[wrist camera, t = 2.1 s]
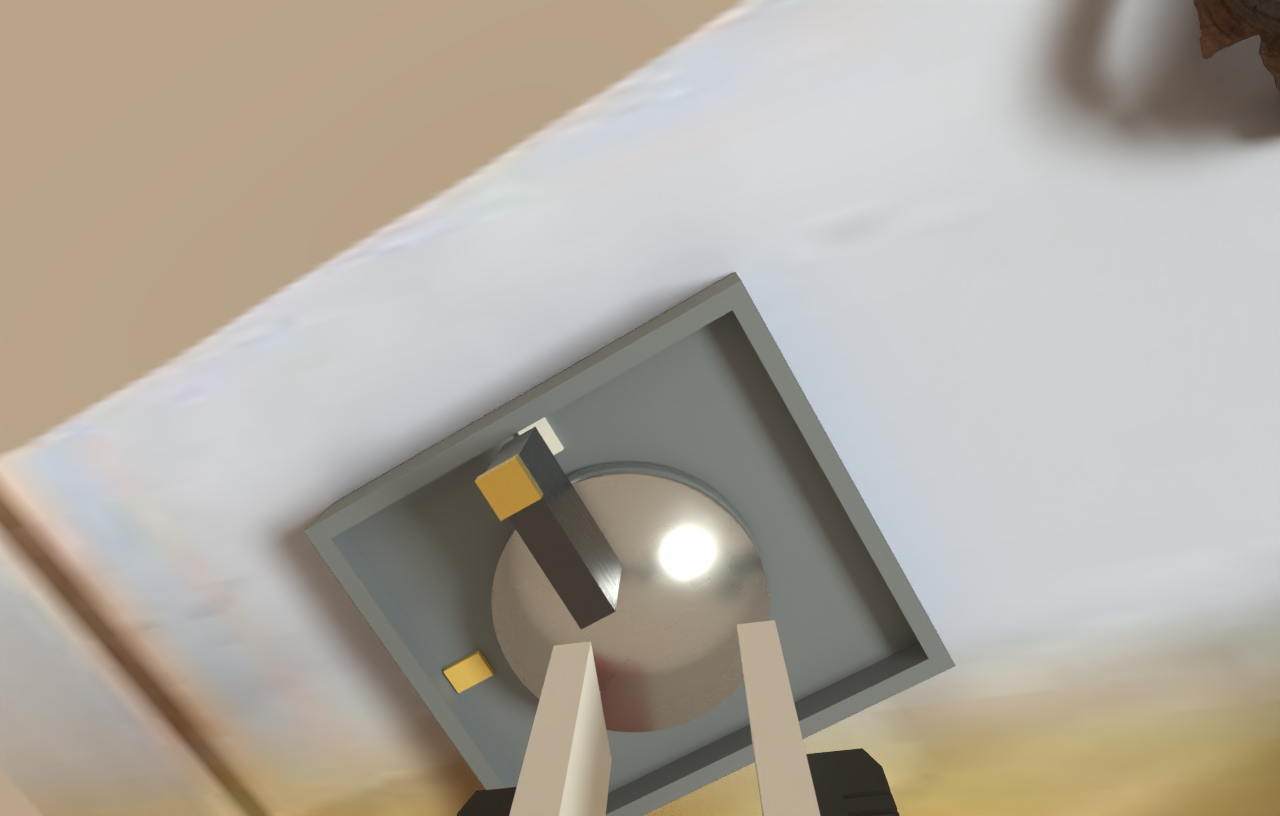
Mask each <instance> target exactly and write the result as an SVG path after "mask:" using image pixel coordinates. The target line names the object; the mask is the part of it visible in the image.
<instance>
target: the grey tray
mask: <svg viewBox="0 0 1280 816" xmlns="http://www.w3.org/2000/svg"><path fill="white" fill-rule="evenodd" d="M533 427H536V428H537V430H538V431H539V433H540V435H541V436H542V438H543V439H544V441H545V443H546V444H547V446H548V447H549V449H550V451H551V452H552V454H553V455H554V457H555V458H556V460H557V462H558V463H559V465H560V466H561V468H562V470H563V471H564V473H565V474H566V476H568V475H570V474H572V473H575V472H577V471H579V470H582V469H585V468H588V467H591V466H594V465H598V464H604V463H609V462H617V461H643V462H652V463H657V464H662V465H667V466H670V467H673V468H676V469H679V470H682V471H685V472H687V473H689V474H691V475H693V476H695V477H697V478H700V479H701V480H703V481H704V482H706V483H707V484H709V485H710V486H712V487H714V488H715V489H716V490H717V491H719V492H720V493H721V494H722V495H723V496H724V497H726V498H727V499H728V500H729V501H730V502H731V503H732V505H733V506H734V507H735V508H736V509H737V510H738V511H739V512H740V514H741V515H742V517H743V518H744V520H745V521H746V523H747V524H748V525H749V527H750V529H751V531H752V533H753V535H754V537H755V539H756V542H757V544H758V547H759V550H760V553H761V556H762V561H763V565H764V569H765V573H766V578H767V583H768V588H769V594H770V618H769V621H771V620H775V623H776V627H777V631H778V636H779V640H780V644H781V648H782V653H783V657H784V661H785V666H786V670H787V674H788V678H789V683H790V687H791V691H792V696H793V700H794V704H795V709H796V713H797V717H798V721H799V726H800V730H801V734H802V739H804V738H806V737H808V736H810V735H812V734H814V733H816V732H818V731H820V730H822V729H824V728H827V727H829V726H831V725H833V724H835V723H837V722H839V721H841V720H843V719H845V718H847V717H850V716H852V715H854V714H856V713H858V712H860V711H862V710H864V709H866V708H868V707H870V706H873V705H875V704H877V703H879V702H881V701H883V700H885V699H887V698H889V697H891V696H893V695H895V694H898V693H900V692H902V691H904V690H906V689H908V688H910V687H912V686H914V685H916V684H918V683H921V682H923V681H925V680H927V679H929V678H931V677H933V676H935V675H937V674H939V673H941V672H943V671H946V670H948V669H950V668H952V667H954V666H955V664H954V662H953V660H952V659H951V657H950V655H949V653H948V651H947V650H946V648H945V646H944V644H943V642H942V641H941V639H940V637H939V635H938V633H937V632H936V630H935V628H934V626H933V624H932V623H931V621H930V619H929V617H928V615H927V614H926V612H925V610H924V608H923V606H922V605H921V603H920V601H919V599H918V597H917V596H916V594H915V592H914V590H913V588H912V587H911V585H910V583H909V581H908V579H907V578H906V576H905V574H904V572H903V570H902V569H901V567H900V565H899V563H898V562H897V560H896V558H895V556H894V554H893V553H892V551H891V549H890V547H889V545H888V544H887V542H886V540H885V538H884V536H883V535H882V533H881V531H880V529H879V527H878V526H877V524H876V522H875V520H874V518H873V517H872V515H871V513H870V511H869V509H868V508H867V506H866V504H865V502H864V500H863V499H862V497H861V495H860V493H859V491H858V490H857V488H856V486H855V484H854V482H853V481H852V479H851V477H850V475H849V473H848V472H847V470H846V468H845V466H844V464H843V463H842V461H841V459H840V457H839V455H838V454H837V452H836V450H835V448H834V447H833V445H832V443H831V441H830V439H829V438H828V436H827V434H826V432H825V430H824V429H823V427H822V425H821V423H820V421H819V420H818V418H817V416H816V414H815V412H814V411H813V409H812V407H811V405H810V403H809V402H808V400H807V398H806V396H805V394H804V393H803V391H802V389H801V387H800V385H799V384H798V382H797V380H796V378H795V376H794V375H793V373H792V371H791V369H790V367H789V366H788V364H787V362H786V360H785V358H784V357H783V355H782V353H781V351H780V349H779V348H778V346H777V344H776V342H775V340H774V339H773V337H772V335H771V333H770V332H769V330H768V328H767V326H766V324H765V323H764V321H763V319H762V317H761V315H760V314H759V312H758V310H757V308H756V306H755V305H754V303H753V301H752V299H751V297H750V296H749V294H748V292H747V290H746V288H745V287H744V285H743V283H742V281H741V280H740V278H739V277H738V275H737V274H736V273H735V272H734V273H732V274H730V275H729V276H727V277H725V278H723V279H722V280H720V281H718V282H716V283H715V284H713V285H711V286H709V287H708V288H706V289H704V290H703V291H701V292H699V293H697V294H696V295H694V296H692V297H690V298H689V299H687V300H685V301H683V302H682V303H680V304H678V305H677V306H675V307H673V308H671V309H670V310H668V311H666V312H664V313H663V314H661V315H659V316H657V317H656V318H654V319H652V320H650V321H649V322H647V323H645V324H644V325H642V326H640V327H638V328H637V329H635V330H633V331H631V332H630V333H628V334H626V335H624V336H623V337H621V338H619V339H618V340H616V341H614V342H612V343H611V344H609V345H607V346H605V347H604V348H602V349H600V350H598V351H597V352H595V353H593V354H591V355H590V356H588V357H586V358H585V359H583V360H581V361H579V362H578V363H576V364H574V365H572V366H571V367H569V368H567V369H565V370H564V371H562V372H560V373H559V374H557V375H555V376H553V377H552V378H550V379H548V380H546V381H545V382H543V383H541V384H539V385H538V386H536V387H534V388H532V389H531V390H529V391H527V392H526V393H524V394H522V395H520V396H519V397H517V398H515V399H513V400H512V401H510V402H508V403H506V404H505V405H503V406H501V407H499V408H498V409H496V410H494V411H493V412H491V413H489V414H487V415H486V416H484V417H482V418H480V419H479V420H477V421H475V422H473V423H472V424H470V425H468V426H467V427H465V428H463V429H461V430H460V431H458V432H456V433H454V434H453V435H451V436H449V437H447V438H446V439H444V440H442V441H440V442H439V443H437V444H435V445H434V446H432V447H430V448H428V449H427V450H425V451H423V452H421V453H420V454H418V455H416V456H414V457H413V458H411V459H409V460H408V461H406V462H404V463H402V464H401V465H399V466H397V467H395V468H394V469H392V470H390V471H388V472H387V473H385V474H383V475H381V476H380V477H378V478H376V479H375V480H373V481H371V482H369V483H368V484H366V485H364V486H362V487H361V488H359V489H357V490H355V491H354V492H352V493H350V494H348V495H347V496H345V497H343V498H342V499H340V500H338V501H336V502H335V503H334V504H332V505H331V506H330V507H329V508H328V509H327V510H326V511H325V512H324V513H323V514H322V515H321V516H320V517H318V518H317V519H316V520H315V521H314V522H313V523H312V524H311V525H310V526H309V527H308V528H307V529H306V530H305V531H303V532H304V533H305V535H306V536H307V537H308V539H309V540H310V542H311V543H312V545H313V546H314V547H315V549H316V550H317V552H318V553H319V554H320V556H321V557H322V559H323V560H324V561H325V563H326V564H327V566H328V567H329V569H330V570H331V571H332V573H333V574H334V576H335V577H336V578H337V580H338V581H339V583H340V584H341V586H342V587H343V588H344V590H345V591H346V593H347V594H348V595H349V597H350V598H351V600H352V601H353V603H354V604H355V605H356V607H357V608H358V610H359V611H360V612H361V614H362V615H363V617H364V618H365V619H366V621H367V622H368V624H369V625H370V627H371V628H372V629H373V631H374V632H375V634H376V635H377V636H378V638H379V639H380V641H381V642H382V644H383V645H384V646H385V648H386V649H387V651H388V652H389V653H390V655H391V656H392V658H393V659H394V661H395V662H396V663H397V665H398V666H399V668H400V669H401V670H402V672H403V673H404V675H405V676H406V677H407V679H408V680H409V682H410V683H411V685H412V686H413V687H414V689H415V690H416V692H417V693H418V694H419V696H420V697H421V699H422V700H423V702H424V703H425V704H426V706H427V707H428V709H429V710H430V711H431V713H432V714H433V716H434V717H435V719H436V720H437V721H438V723H439V724H440V726H441V727H442V728H443V730H444V731H445V733H446V734H447V735H448V737H449V738H450V740H451V741H452V743H453V744H454V745H455V747H456V748H457V750H458V751H459V752H460V754H461V755H462V757H463V758H464V760H465V761H466V762H467V764H468V765H469V767H470V768H471V769H472V771H473V772H474V774H475V775H476V777H477V778H478V779H479V781H480V782H481V784H482V785H483V786H484V788H485V789H486V790H491V789H500V788H510V787H517V784H518V780H519V776H520V773H521V769H522V765H523V761H524V757H525V753H526V750H527V746H528V742H529V738H530V734H531V731H532V727H533V723H534V719H535V715H536V711H537V708H538V704H539V700H540V699H539V698H537V697H536V696H535V695H534V694H533V693H532V692H531V691H530V690H529V689H528V688H527V687H526V686H525V685H524V684H523V683H522V682H521V680H520V679H519V678H518V677H517V675H516V674H515V673H514V671H513V670H512V668H511V667H510V665H509V663H508V661H507V660H506V658H505V656H504V654H503V652H502V649H501V647H500V645H499V642H498V639H497V636H496V632H495V628H494V624H493V616H492V608H491V605H492V587H493V581H494V575H495V571H496V568H497V565H498V562H499V559H500V556H501V554H502V552H503V550H504V548H505V546H506V544H507V542H508V539H509V537H510V535H511V533H512V531H513V529H514V526H513V524H512V523H511V521H510V520H509V518H508V517H507V518H505V519H504V520H502V521H500V519H499V518H498V516H497V515H496V513H495V512H494V510H493V509H492V507H491V506H490V504H489V503H488V501H487V499H486V498H485V496H484V495H483V493H482V492H481V490H480V489H479V487H478V486H477V484H476V483H475V480H476V479H477V477H478V476H480V475H482V474H483V473H485V472H486V471H487V469H488V468H489V466H490V465H491V463H492V462H493V460H494V459H495V457H496V456H497V454H498V453H499V451H500V450H501V448H502V446H503V445H504V444H505V443H507V442H509V441H510V440H512V439H514V438H516V437H518V436H519V435H521V434H523V433H525V432H526V431H528V430H530V429H532V428H533ZM606 731H607V736H608V742H609V748H610V753H611V759H612V761H611V770H610V779H609V788H608V798H607V807H606V816H643V815H645V814H647V813H649V812H651V811H653V810H655V809H658V808H660V807H662V806H664V805H666V804H668V803H670V802H672V801H674V800H676V799H678V798H680V797H683V796H685V795H687V794H689V793H691V792H693V791H695V790H697V789H699V788H701V787H703V786H706V785H708V784H710V783H712V782H714V781H716V780H718V779H720V778H722V777H724V776H726V775H728V774H731V773H733V772H735V771H737V770H739V769H741V768H743V767H745V766H747V765H749V764H751V763H754V762H755V758H754V751H753V744H752V736H751V729H750V721H749V714H748V706H747V699H746V691H745V684H744V682H743V683H742V684H741V685H740V687H739V688H738V689H737V690H736V691H735V692H734V693H733V694H732V695H731V696H730V697H729V698H728V699H726V700H725V701H724V702H722V703H721V704H720V705H718V706H717V707H716V708H714V709H713V710H711V711H709V712H708V713H706V714H704V715H702V716H701V717H699V718H696V719H694V720H692V721H689V722H687V723H685V724H682V725H678V726H675V727H671V728H668V729H663V730H657V731H650V732H618V731H610V730H606Z"/></svg>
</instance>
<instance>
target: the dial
mask: <svg viewBox="0 0 1280 816" xmlns="http://www.w3.org/2000/svg"><path fill="white" fill-rule="evenodd" d="M475 483H476V484H477V486H478V487H479V489H480V490H481V492H482V493H483V495H484V496H485V498H486V499H487V501H488V503H489V504H490V506H491V507H492V509H493V510H494V512H495V513H496V515H497V516H498V518H499V519H500V521H502V520H504V519H505V518H507V517H508V518H509V520H510V521H511V523H512V524H513V526H514V529H513V531H512V533H511V535H510V537H509V539H508V542H507V544H506V546H505V548H504V550H503V552H502V554H501V556H500V559H499V562H498V565H497V568H496V571H495V575H494V581H493V587H492V605H491V608H492V616H493V624H494V628H495V632H496V636H497V639H498V642H499V645H500V647H501V649H502V652H503V654H504V656H505V658H506V660H507V661H508V663H509V665H510V667H511V668H512V670H513V671H514V673H515V674H516V675H517V677H518V678H519V679H520V680H521V682H522V683H523V684H524V685H525V686H526V687H527V688H528V689H529V690H530V691H531V692H532V693H533V694H534V695H535V696H536V697H537V698H539V699H540V696H541V692H542V688H543V685H544V681H545V677H546V673H547V669H548V666H549V662H550V658H551V654H552V650H553V646H555V645H564V644H572V643H581V642H590V641H591V645H592V651H593V657H594V662H595V668H596V674H597V679H598V685H599V691H600V697H601V702H602V708H603V714H604V719H605V725H606V730H610V731H618V732H650V731H657V730H663V729H668V728H671V727H675V726H678V725H682V724H685V723H687V722H689V721H692V720H694V719H696V718H699V717H701V716H702V715H704V714H706V713H708V712H709V711H711V710H713V709H714V708H716V707H717V706H718V705H720V704H721V703H722V702H724V701H725V700H726V699H728V698H729V697H730V696H731V695H732V694H733V693H734V692H735V691H736V690H737V689H738V688H739V687H740V685H741V684H742V683H743V682H744V676H743V669H742V661H741V653H740V646H739V638H738V631H737V624H745V623H754V622H763V621H769V618H770V594H769V588H768V583H767V578H766V573H765V569H764V565H763V561H762V556H761V553H760V550H759V547H758V544H757V542H756V539H755V537H754V535H753V533H752V531H751V529H750V527H749V525H748V524H747V523H746V521H745V520H744V518H743V517H742V515H741V514H740V512H739V511H738V510H737V509H736V508H735V507H734V506H733V505H732V503H731V502H730V501H729V500H728V499H727V498H726V497H724V496H723V495H722V494H721V493H720V492H719V491H717V490H716V489H715V488H714V487H712V486H710V485H709V484H707V483H706V482H704V481H703V480H701V479H700V478H697V477H695V476H693V475H691V474H689V473H687V472H685V471H682V470H679V469H676V468H673V467H670V466H667V465H662V464H657V463H652V462H643V461H617V462H609V463H604V464H598V465H594V466H591V467H588V468H585V469H582V470H579V471H577V472H575V473H572V474H570V475H568V476H566V474H565V473H564V471H563V470H562V468H561V466H560V465H559V463H558V462H557V460H556V458H555V457H554V455H553V454H552V452H551V451H550V449H549V447H548V446H547V444H546V443H545V441H544V439H543V438H542V436H541V435H540V433H539V431H538V430H537V428H536V427H533V428H532V429H530V430H528V431H526V432H525V433H523V434H521V435H519V436H518V437H516V438H514V439H512V440H510V441H509V442H507V443H505V444H504V445H503V446H502V448H501V450H500V451H499V453H498V454H497V456H496V457H495V459H494V460H493V462H492V463H491V465H490V466H489V468H488V469H487V471H486V472H485V473H483V474H482V475H480V476H478V477H477V479H476V480H475Z"/></svg>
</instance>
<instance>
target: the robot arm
mask: <svg viewBox="0 0 1280 816" xmlns="http://www.w3.org/2000/svg"><path fill="white" fill-rule="evenodd" d="M737 631H738V638H739V646H740V653H741V661H742V669H743V676H744V684H745V691H746V699H747V706H748V714H749V721H750V729H751V736H752V744H753V751H754V758H755V765H756V772H757V779H758V787H759V794H760V801H761V808H762V815H763V816H899V813H898V812H897V807H896V804H895V802H894V799H893V796H892V794H891V792H890V788H889V785H888V782H887V779H886V777H885V774H884V771H883V768H882V766H881V765H880V764H878V763H877V762H876V761H875V760H874V759H873V758H872V757H871V756H870V755H869V754H868V753H867V752H866V751H865V750H863V749H862V748H861V749H852V750H842V751H833V752H823V753H814V754H806V751H805V747H804V743H803V739H802V734H801V730H800V726H799V721H798V717H797V713H796V709H795V704H794V700H793V696H792V691H791V687H790V683H789V678H788V674H787V670H786V666H785V661H784V657H783V653H782V648H781V644H780V640H779V636H778V631H777V627H776V623H775V620H771V621H763V622H754V623H745V624H737ZM611 761H612V759H611V753H610V748H609V742H608V736H607V731H606V725H605V719H604V714H603V708H602V702H601V697H600V691H599V685H598V679H597V674H596V668H595V662H594V657H593V651H592V645H591V641H590V642H581V643H572V644H564V645H555V646H553V650H552V654H551V658H550V662H549V666H548V669H547V673H546V677H545V681H544V685H543V688H542V692H541V696H540V700H539V704H538V708H537V711H536V715H535V719H534V723H533V727H532V731H531V734H530V738H529V742H528V746H527V750H526V753H525V757H524V761H523V765H522V769H521V773H520V776H519V780H518V784H517V787H510V788H500V789H491V790H481V791H476V792H475V794H474V795H473V796H472V797H471V798H470V799H469V801H468V802H467V803H466V804H465V805H464V806H463V807H462V809H461V810H460V811H459V812H458V814H457V816H606V807H607V798H608V788H609V779H610V770H611Z"/></svg>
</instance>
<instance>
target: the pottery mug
mask: <svg viewBox="0 0 1280 816" xmlns="http://www.w3.org/2000/svg"><path fill="white" fill-rule="evenodd" d="M1194 5H1195V6H1196V9H1197V12H1198V17H1199V22H1200V30H1201V38H1200V43H1201V50H1202V55H1203V58H1204V59H1208V58H1210V57H1211V56H1212V55H1213V54H1214V53H1215V52H1217V51H1219V50H1221V49H1223V48H1225V47H1228V46H1231V45H1233V44H1235V43H1237V42H1239V41H1241V40H1244V39H1247V38H1249V37H1252V36H1255V35H1259V36H1260V37H1261V44H1260V51H1259V54H1260V56H1261V58H1262V61H1263V64H1264V66H1265V67H1266V68H1267V70H1268V71H1269V72H1270V73H1271V74H1272V75H1273V76H1274V78H1275V84H1276V87H1277V89H1278V90H1279V91H1280V0H1194Z"/></svg>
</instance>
